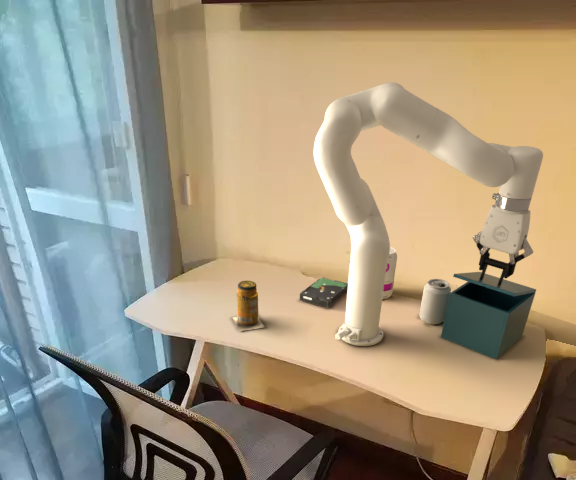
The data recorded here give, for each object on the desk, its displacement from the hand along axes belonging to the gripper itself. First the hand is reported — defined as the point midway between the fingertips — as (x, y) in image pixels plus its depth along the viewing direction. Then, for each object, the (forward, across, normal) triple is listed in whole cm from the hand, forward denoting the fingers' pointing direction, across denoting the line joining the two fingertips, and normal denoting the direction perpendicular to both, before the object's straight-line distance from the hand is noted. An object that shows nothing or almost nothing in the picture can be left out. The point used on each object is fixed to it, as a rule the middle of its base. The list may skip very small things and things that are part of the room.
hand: (494, 272), depth 140 cm
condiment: (+21, -53, -38) cm, 69 cm away
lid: (+4, 0, +2) cm, 5 cm away
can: (+21, -15, +1) cm, 26 cm away
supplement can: (+21, -36, +4) cm, 42 cm away
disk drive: (+21, -48, -9) cm, 53 cm away
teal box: (+20, 0, +2) cm, 21 cm away
